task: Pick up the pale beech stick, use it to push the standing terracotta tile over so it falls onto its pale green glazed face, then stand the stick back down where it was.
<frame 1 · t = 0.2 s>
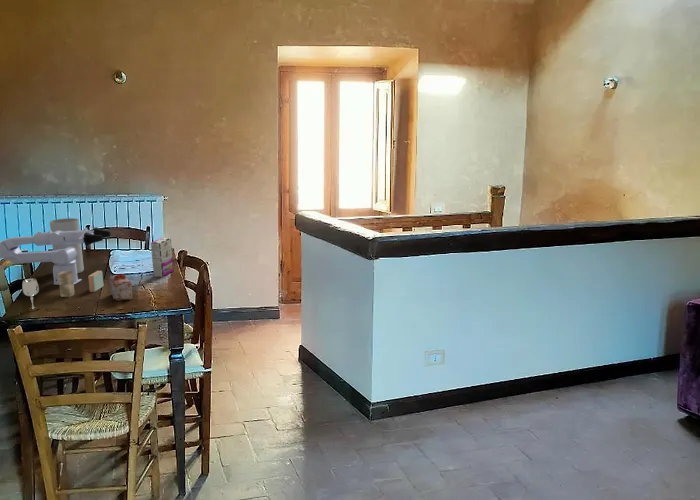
hand: (106, 235, 291), 21 cm above the table, tool horizontal, fingers open, 7 cm apart
beech stick: (67, 295, 277), on the table
candy bar box: (163, 274, 309), on the table
food item: (121, 298, 273), on the table
terracotta tile: (96, 289, 286), on the table
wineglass: (33, 310, 258), on the table
cylinder vase: (70, 272, 316), on the table
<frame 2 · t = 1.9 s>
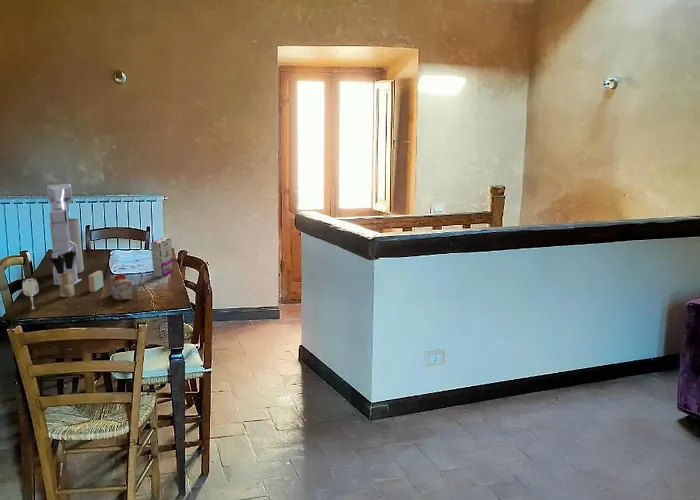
hand: (65, 271, 275), 10 cm above the table, tool pointing down, fingers open, 7 cm apart
nothing on the table moved.
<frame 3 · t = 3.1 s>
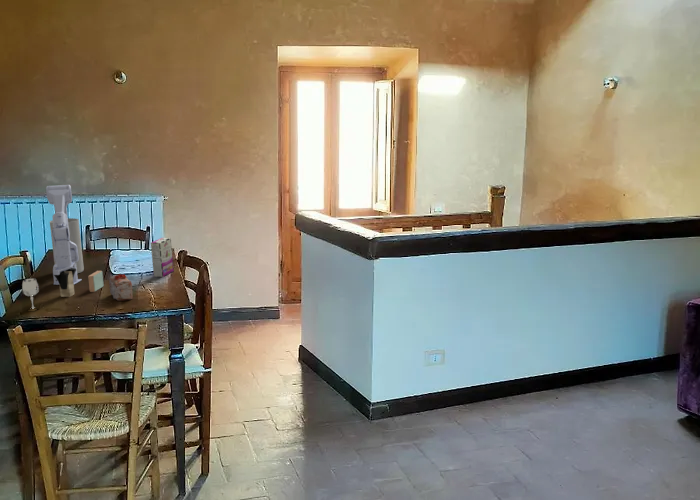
hand: (66, 287, 276), 3 cm above the table, tool pointing down, fingers closed on beech stick, 4 cm apart
beech stick: (67, 295, 277), on the table, touching gripper
everything else where it was.
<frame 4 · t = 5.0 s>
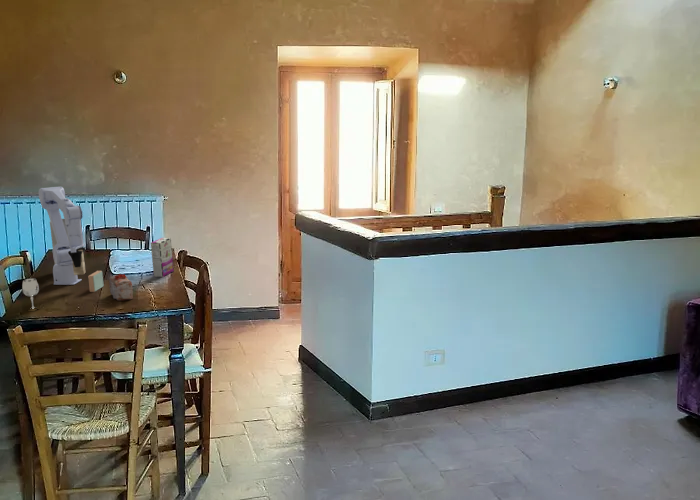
hand: (78, 265, 284), 10 cm above the table, tool pointing down, fingers closed on beech stick, 4 cm apart
beech stick: (79, 273, 285), point 7 cm above the table, touching gripper
everything else where it was.
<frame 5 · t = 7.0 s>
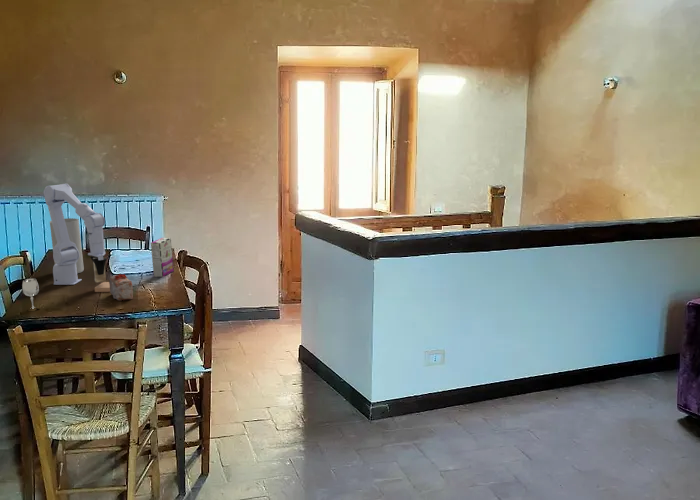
hand: (99, 273, 285), 7 cm above the table, tool pointing down, fingers closed on beech stick, 4 cm apart
beech stick: (100, 280, 285), point 4 cm above the table, touching gripper
terracotta tile: (99, 287, 286), point 1 cm above the table, tilted 90°
everything else where it was.
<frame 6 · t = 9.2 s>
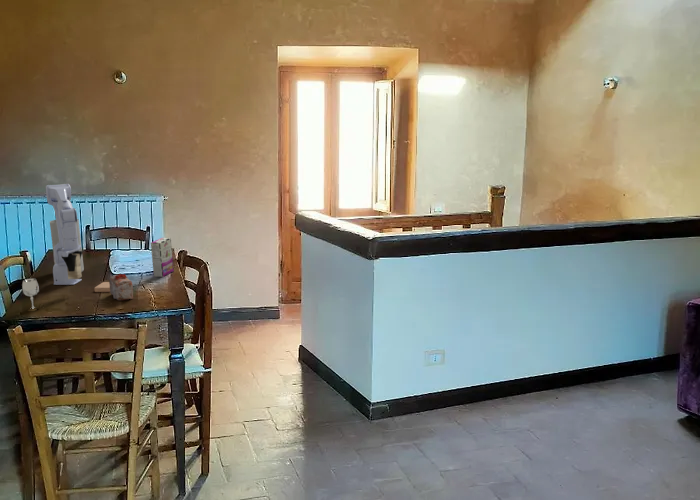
hand: (73, 269, 277), 10 cm above the table, tool pointing down, fingers closed on beech stick, 4 cm apart
beech stick: (75, 277, 277), point 7 cm above the table, touching gripper
everything else where it was.
when the fingers open (5 cm above the table, at t = 10.9 s): beech stick drops 1 cm, on the table.
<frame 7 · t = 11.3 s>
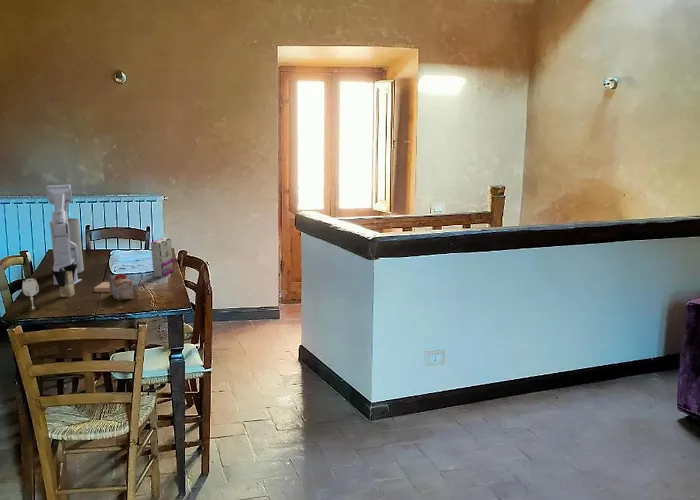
hand: (66, 284, 276), 5 cm above the table, tool pointing down, fingers open, 7 cm apart
beech stick: (67, 295, 277), on the table
everything else where it was.
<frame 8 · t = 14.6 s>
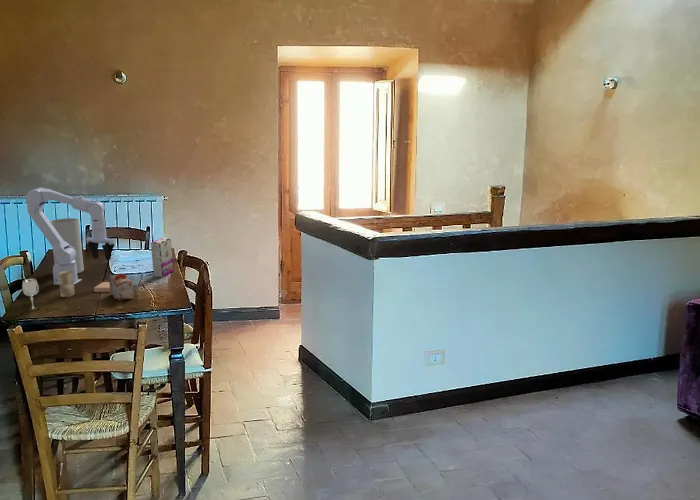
hand: (102, 259, 296), 10 cm above the table, tool pointing down, fingers open, 7 cm apart
nothing on the table moved.
at the end: terracotta tile tilted 90°; beech stick tilted 0°; the gripper is holding nothing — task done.
